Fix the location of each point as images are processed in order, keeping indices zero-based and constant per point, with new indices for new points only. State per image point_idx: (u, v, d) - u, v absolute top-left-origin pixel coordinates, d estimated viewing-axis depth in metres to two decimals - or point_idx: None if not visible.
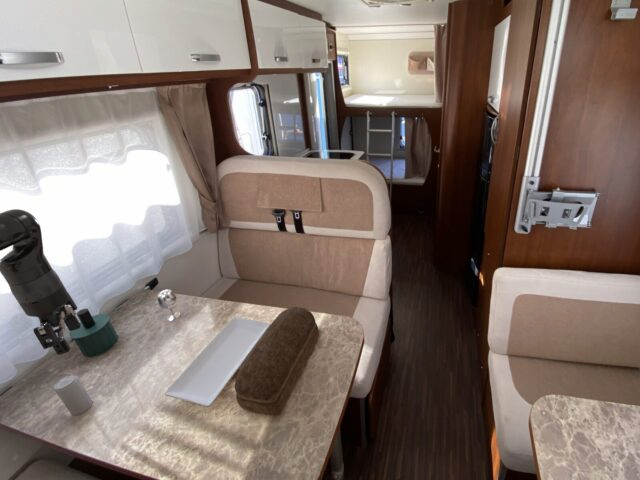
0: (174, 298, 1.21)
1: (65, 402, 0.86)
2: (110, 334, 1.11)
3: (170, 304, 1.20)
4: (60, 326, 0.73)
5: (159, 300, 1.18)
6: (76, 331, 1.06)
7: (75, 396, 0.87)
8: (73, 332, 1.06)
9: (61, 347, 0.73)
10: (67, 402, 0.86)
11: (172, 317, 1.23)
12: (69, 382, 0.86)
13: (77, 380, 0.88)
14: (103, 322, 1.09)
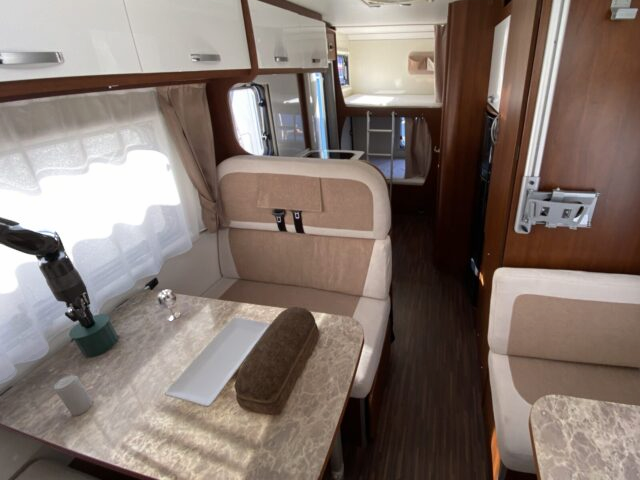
0: (174, 298, 1.21)
1: (65, 402, 0.86)
2: (110, 334, 1.11)
3: (170, 304, 1.20)
4: (82, 308, 1.04)
5: (159, 300, 1.18)
6: (76, 331, 1.06)
7: (75, 396, 0.87)
8: (73, 332, 1.06)
9: (84, 321, 1.05)
10: (67, 402, 0.86)
11: (172, 317, 1.23)
12: (69, 382, 0.86)
13: (77, 380, 0.88)
14: (103, 322, 1.09)
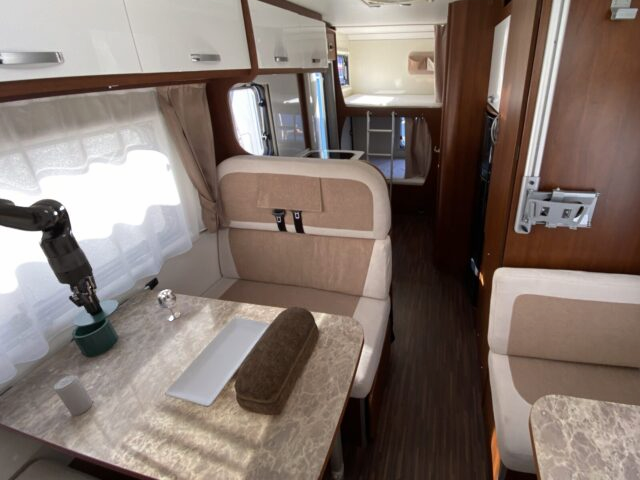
0: (174, 298, 1.21)
1: (65, 402, 0.86)
2: (110, 334, 1.11)
3: (170, 304, 1.20)
4: (88, 292, 0.92)
5: (159, 300, 1.18)
6: (81, 318, 0.95)
7: (75, 396, 0.87)
8: (78, 319, 0.94)
9: (90, 307, 0.93)
10: (67, 402, 0.86)
11: (172, 317, 1.23)
12: (69, 382, 0.86)
13: (77, 380, 0.88)
14: (112, 308, 0.98)
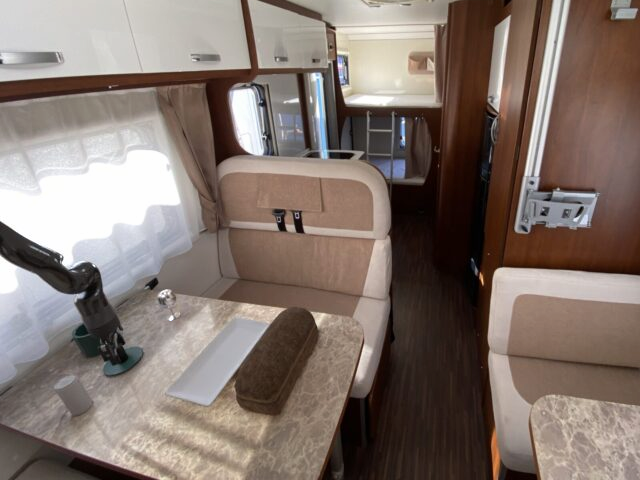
0: (174, 298, 1.21)
1: (65, 402, 0.86)
2: None
3: (170, 304, 1.20)
4: (114, 344, 0.99)
5: (159, 300, 1.18)
6: (110, 367, 1.02)
7: (75, 396, 0.87)
8: (107, 368, 1.02)
9: (115, 360, 0.99)
10: (67, 402, 0.86)
11: (172, 317, 1.23)
12: (69, 382, 0.86)
13: (77, 380, 0.88)
14: (137, 356, 1.06)
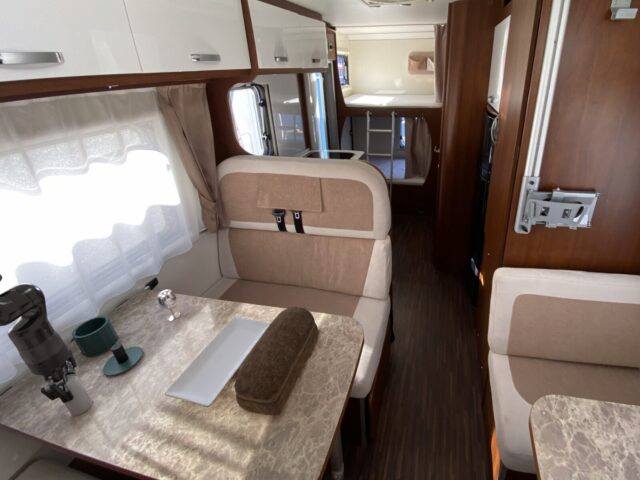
0: (174, 298, 1.21)
1: None
2: (110, 334, 1.11)
3: (170, 304, 1.20)
4: (64, 380, 0.84)
5: (159, 300, 1.18)
6: (110, 367, 1.02)
7: (75, 396, 0.87)
8: (107, 368, 1.02)
9: (66, 397, 0.84)
10: (67, 402, 0.86)
11: (172, 317, 1.23)
12: (69, 382, 0.86)
13: (77, 380, 0.88)
14: (137, 356, 1.06)
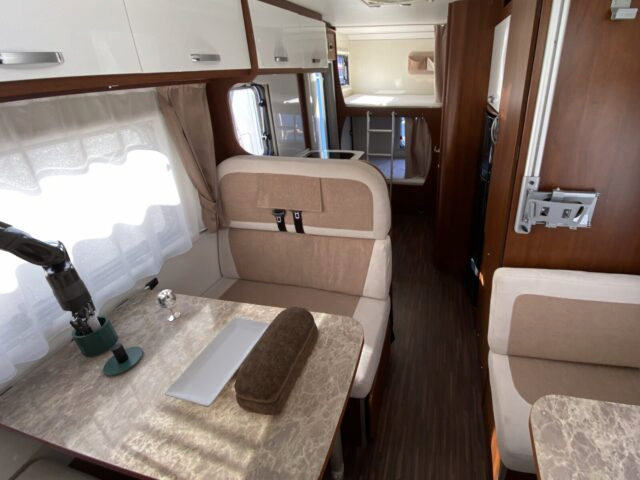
0: (174, 298, 1.21)
1: None
2: (110, 334, 1.11)
3: (170, 304, 1.20)
4: (86, 318, 1.05)
5: (159, 300, 1.18)
6: (110, 367, 1.02)
7: None
8: (107, 368, 1.02)
9: (88, 331, 1.05)
10: None
11: (172, 317, 1.23)
12: (90, 320, 1.07)
13: (96, 320, 1.09)
14: (137, 356, 1.06)
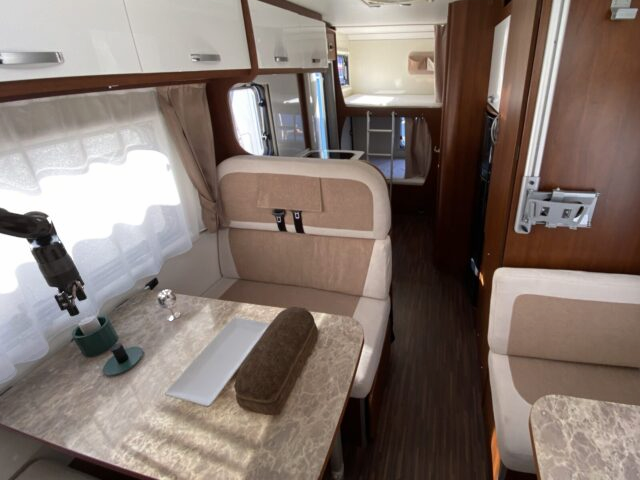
0: (174, 298, 1.21)
1: None
2: (110, 334, 1.11)
3: (170, 304, 1.20)
4: (72, 295, 1.00)
5: (159, 300, 1.18)
6: (110, 367, 1.02)
7: None
8: (107, 368, 1.02)
9: (73, 310, 1.00)
10: None
11: (172, 317, 1.23)
12: (90, 320, 1.07)
13: (96, 320, 1.09)
14: (137, 356, 1.06)
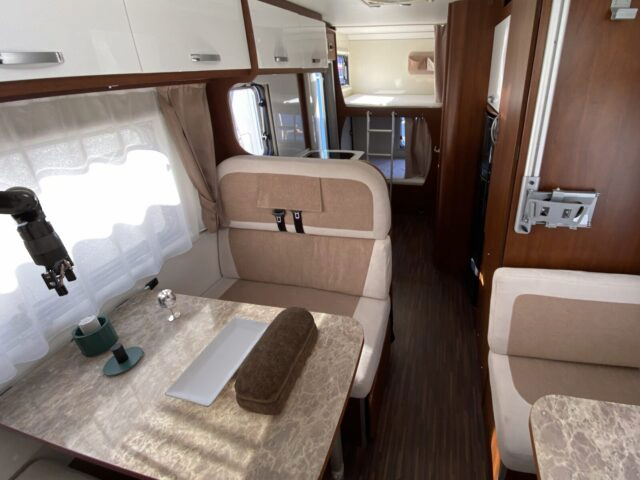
0: (174, 298, 1.21)
1: None
2: (110, 334, 1.11)
3: (170, 304, 1.20)
4: (61, 274, 0.97)
5: (159, 300, 1.18)
6: (110, 367, 1.02)
7: None
8: (107, 368, 1.02)
9: (61, 290, 0.97)
10: None
11: (172, 317, 1.23)
12: (90, 320, 1.07)
13: (96, 320, 1.09)
14: (137, 356, 1.06)
